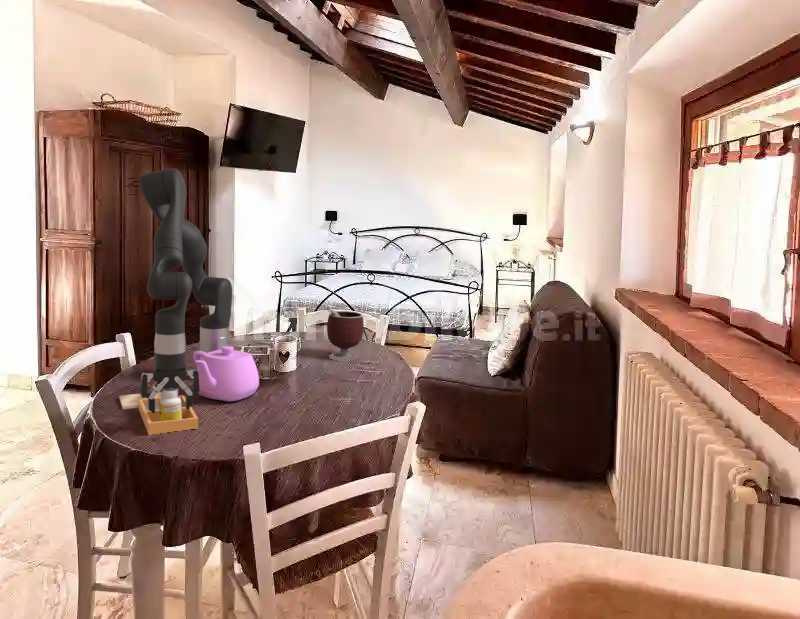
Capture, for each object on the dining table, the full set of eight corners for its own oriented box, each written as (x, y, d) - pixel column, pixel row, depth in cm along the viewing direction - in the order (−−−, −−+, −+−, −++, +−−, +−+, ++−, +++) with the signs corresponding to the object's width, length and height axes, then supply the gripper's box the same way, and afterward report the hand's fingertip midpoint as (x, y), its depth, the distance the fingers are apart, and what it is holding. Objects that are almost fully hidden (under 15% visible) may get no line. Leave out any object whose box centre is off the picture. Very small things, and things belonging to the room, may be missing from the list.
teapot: (211, 382, 205) (211, 336, 202) (266, 392, 197) (267, 345, 195) (160, 401, 184) (159, 350, 181) (220, 414, 176) (220, 361, 174)
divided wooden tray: (184, 405, 182) (184, 395, 181) (198, 429, 164) (198, 418, 164) (138, 409, 176) (138, 399, 175) (148, 435, 159) (148, 423, 158)
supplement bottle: (162, 421, 168) (162, 386, 167) (183, 422, 169) (183, 386, 167) (156, 429, 163) (156, 392, 161) (178, 429, 163) (178, 393, 162)
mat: (162, 394, 190) (162, 391, 190) (168, 404, 181) (168, 401, 181) (119, 398, 184) (119, 395, 184) (122, 409, 176) (122, 406, 176)
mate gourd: (347, 351, 255) (349, 302, 251) (369, 359, 245) (371, 308, 241) (315, 356, 244) (317, 305, 241) (337, 364, 234) (339, 311, 231)
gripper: (196, 344, 169) (195, 403, 172) (138, 347, 162) (139, 408, 165) (201, 351, 163) (201, 412, 165) (142, 355, 156) (142, 418, 159)
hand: (170, 410), depth 165 cm, fingers open, 8 cm apart
